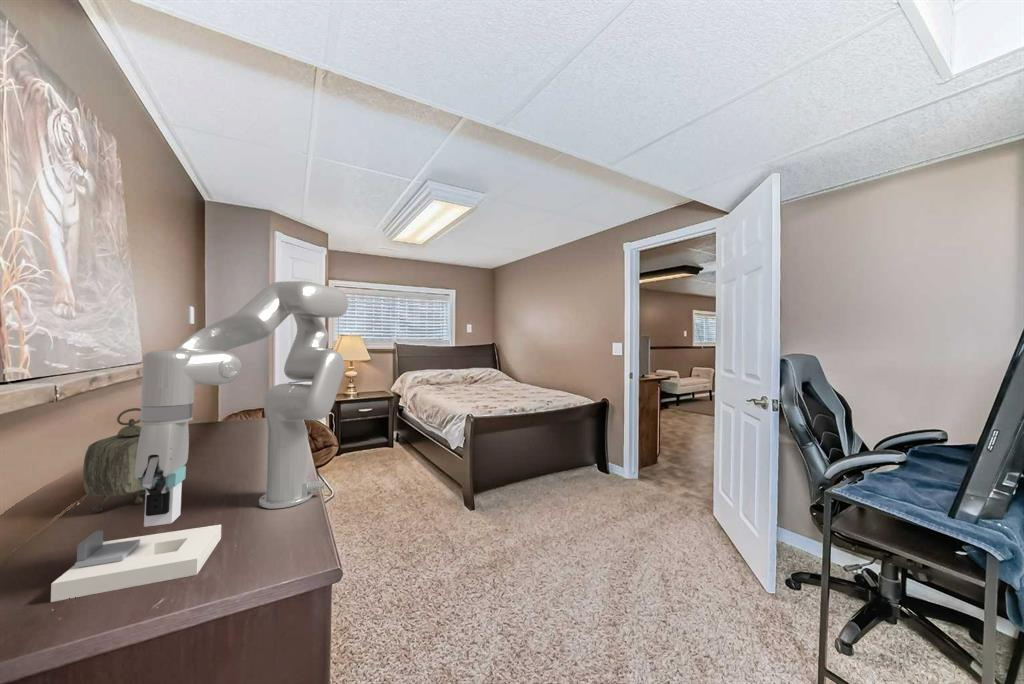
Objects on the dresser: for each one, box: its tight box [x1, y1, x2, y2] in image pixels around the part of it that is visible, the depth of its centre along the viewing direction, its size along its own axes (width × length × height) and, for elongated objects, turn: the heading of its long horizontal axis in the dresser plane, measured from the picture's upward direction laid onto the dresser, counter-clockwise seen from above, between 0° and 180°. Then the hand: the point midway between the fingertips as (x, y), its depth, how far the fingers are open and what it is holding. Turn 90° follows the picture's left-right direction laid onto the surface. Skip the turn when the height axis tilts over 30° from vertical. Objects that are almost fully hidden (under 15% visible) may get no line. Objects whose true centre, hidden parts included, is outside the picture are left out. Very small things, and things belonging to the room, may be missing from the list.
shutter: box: [74, 529, 140, 568], centre depth 69 cm, size 6×6×4 cm
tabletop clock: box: [82, 407, 146, 513], centre depth 98 cm, size 14×9×25 cm, turn 178°
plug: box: [142, 465, 187, 528], centre depth 72 cm, size 5×5×10 cm
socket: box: [50, 524, 222, 603], centre depth 71 cm, size 19×14×3 cm
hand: (163, 508), depth 71 cm, fingers closed on plug, 4 cm apart
